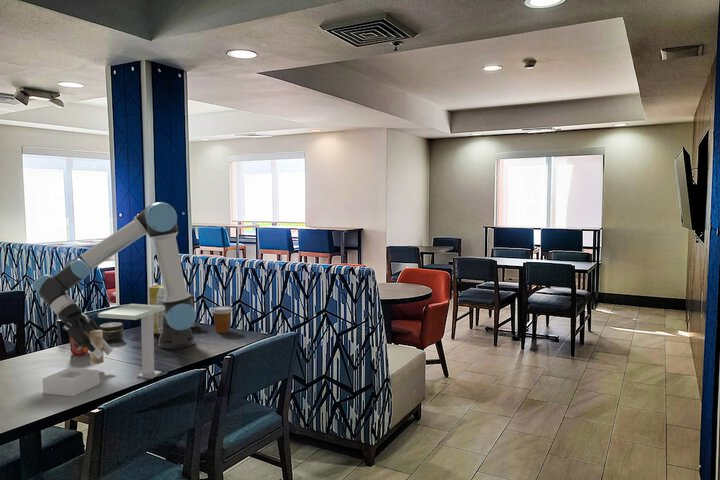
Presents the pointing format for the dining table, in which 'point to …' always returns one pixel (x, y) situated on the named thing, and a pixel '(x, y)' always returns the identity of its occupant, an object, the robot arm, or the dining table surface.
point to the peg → (98, 340)
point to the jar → (112, 332)
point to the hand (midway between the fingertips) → (105, 354)
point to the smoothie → (77, 349)
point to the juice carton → (156, 299)
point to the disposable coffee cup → (222, 318)
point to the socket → (70, 381)
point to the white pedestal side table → (146, 331)
